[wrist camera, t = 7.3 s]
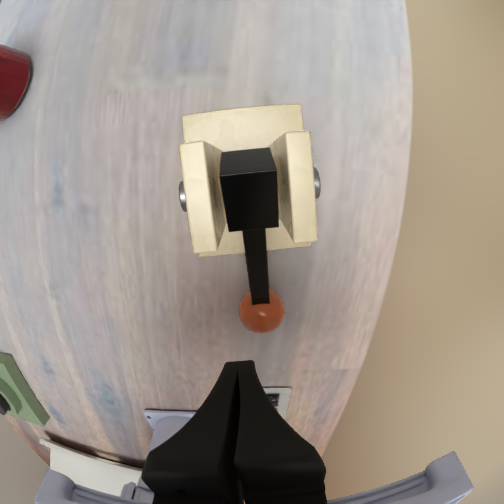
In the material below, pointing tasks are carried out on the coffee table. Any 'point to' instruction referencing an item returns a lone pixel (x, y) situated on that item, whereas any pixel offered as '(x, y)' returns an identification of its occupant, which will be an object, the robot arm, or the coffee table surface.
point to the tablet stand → (91, 469)
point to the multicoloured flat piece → (279, 399)
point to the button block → (19, 393)
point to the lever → (253, 228)
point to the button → (3, 405)
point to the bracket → (241, 138)
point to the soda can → (12, 78)
